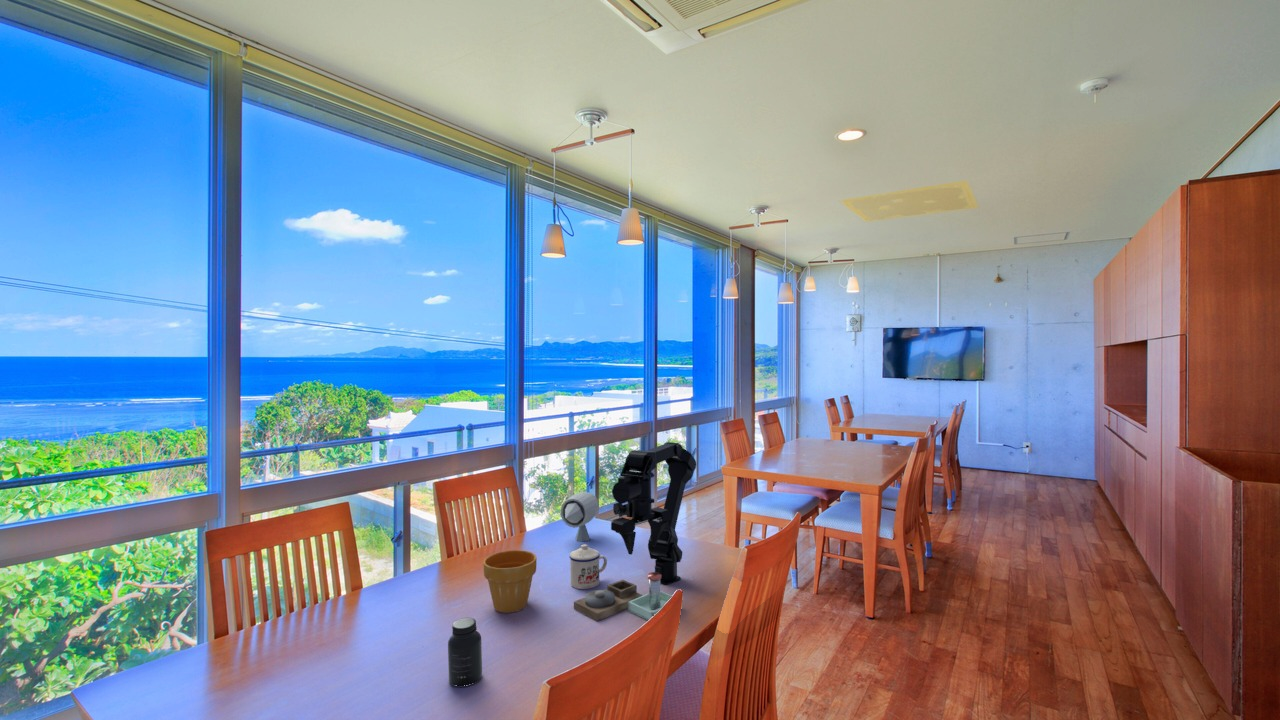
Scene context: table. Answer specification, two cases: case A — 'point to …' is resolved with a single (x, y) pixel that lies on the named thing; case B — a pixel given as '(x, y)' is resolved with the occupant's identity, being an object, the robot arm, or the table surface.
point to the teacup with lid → (585, 567)
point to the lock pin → (654, 590)
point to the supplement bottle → (464, 653)
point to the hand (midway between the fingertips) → (642, 550)
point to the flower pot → (510, 578)
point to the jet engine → (580, 513)
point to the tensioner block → (607, 600)
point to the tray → (646, 605)
